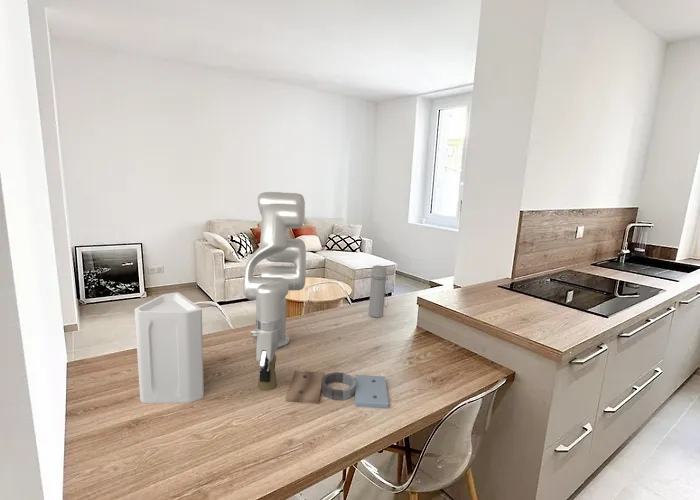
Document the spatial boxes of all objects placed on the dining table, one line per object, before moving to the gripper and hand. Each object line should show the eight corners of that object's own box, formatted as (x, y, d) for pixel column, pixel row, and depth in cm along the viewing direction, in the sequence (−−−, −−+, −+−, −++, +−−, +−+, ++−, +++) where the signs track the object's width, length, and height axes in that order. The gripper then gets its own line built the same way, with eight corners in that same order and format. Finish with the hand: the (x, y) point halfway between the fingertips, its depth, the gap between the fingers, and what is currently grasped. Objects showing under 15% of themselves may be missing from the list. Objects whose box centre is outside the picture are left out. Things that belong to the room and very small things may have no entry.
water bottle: (367, 317, 183) (371, 268, 178) (369, 311, 191) (372, 264, 186) (386, 319, 182) (390, 270, 177) (387, 314, 189) (391, 266, 184)
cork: (280, 382, 123) (281, 351, 121) (270, 392, 117) (271, 360, 115) (264, 378, 125) (264, 348, 122) (254, 387, 119) (254, 356, 117)
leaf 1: (285, 401, 113) (286, 392, 112) (294, 373, 129) (294, 365, 128) (341, 405, 113) (341, 396, 112) (343, 377, 128) (343, 369, 128)
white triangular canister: (131, 386, 116) (126, 300, 110) (180, 371, 126) (177, 291, 120) (151, 417, 103) (146, 321, 97) (204, 397, 113) (202, 309, 107)
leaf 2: (340, 405, 113) (341, 396, 112) (342, 376, 128) (343, 368, 128) (388, 408, 113) (388, 399, 112) (384, 379, 128) (385, 371, 128)
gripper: (263, 312, 125) (262, 361, 129) (248, 334, 108) (248, 390, 112) (285, 313, 125) (284, 363, 129) (274, 335, 108) (273, 391, 112)
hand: (267, 375), depth 120 cm, fingers open, 6 cm apart
